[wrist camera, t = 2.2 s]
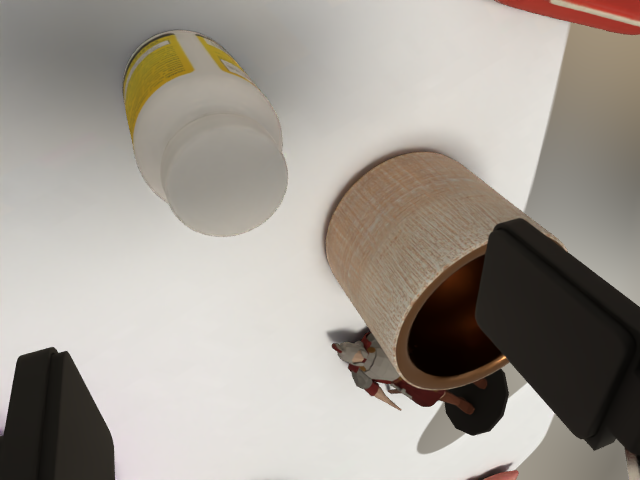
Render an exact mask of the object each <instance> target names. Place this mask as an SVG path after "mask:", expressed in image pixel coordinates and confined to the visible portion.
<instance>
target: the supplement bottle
mask: <svg viewBox="0 0 640 480" xmlns="http://www.w3.org/2000/svg"><path fill="white" fill-rule="evenodd" d="M123 98H124V104H125V110H126V115H127V120H128V125H129V130H130V134H131V139H132V144H133V150H134V154H135V159H136V162H137V165H138V168H139V170H140V173H141V175H142V177H143V178H144V180H145V182H146V183H147V184H148V186H149V187H150V188H151V189H152V191H153V192H154V193H155V194H157V195H158V196H159V197H160V198H161V199H163V200H164V201H166V202H167V203H169V206H170V208H171V210H172V211H173V213H174V214H175V216H176V217H177V218H178V219H179V220H180V221H181V222H182V223H183V224H184V225H186V226H187V227H189V228H190V229H192V230H194V231H196V232H199V233H201V234H205V235H209V236H216V237H227V236H235V235H239V234H242V233H245V232H248V231H250V230H252V229H254V228H256V227H258V226H260V225H261V224H262V223H264V222H265V221H266V220H268V219H269V218H270V217H271V216H272V215H273V213H274V212H275V211H276V210H277V208H278V207H279V205H280V204H281V202H282V200H283V197H284V195H285V193H286V189H287V183H288V170H287V165H286V161H285V158H284V156H283V154H282V146H283V142H282V130H281V126H280V122H279V119H278V117H277V114H276V112H275V110H274V109H273V107H272V105H271V104H270V102H269V100H268V99H267V98H266V97H265V96H264V94H263V93H262V92H261V91H260V90H259V89H258V87H257V86H256V85H255V84H254V82H253V81H252V80H251V79H250V78H249V77H248V75H247V74H246V73H245V72H244V71H243V69H242V68H241V67H240V66H239V65H238V63H237V62H236V61H235V60H234V59H233V58H232V56H231V55H230V54H229V53H228V52H227V51H226V50H225V49H224V48H223V47H222V46H221V45H219V44H218V43H217V42H215V41H214V40H212V39H211V38H209V37H207V36H204V35H202V34H199V33H196V32H192V31H185V30H174V31H168V32H163V33H160V34H158V35H155V36H153V37H151V38H150V39H148V40H146V41H145V42H144V43H143V44H141V45H140V46H139V47H138V48H137V49H136V51H135V52H134V53H133V55H132V56H131V58H130V60H129V61H128V63H127V66H126V69H125V72H124V77H123Z"/></svg>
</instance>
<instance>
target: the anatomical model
mask: <svg viewBox="0 0 640 480" xmlns="http://www.w3.org/2000/svg"><path fill="white" fill-rule="evenodd" d="M517 476H518V471H517V470H514V471H506V472H501V473H498V474H495V475H492V476H490V477H488V478H485V479H483V480H516V478H517Z"/></svg>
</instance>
